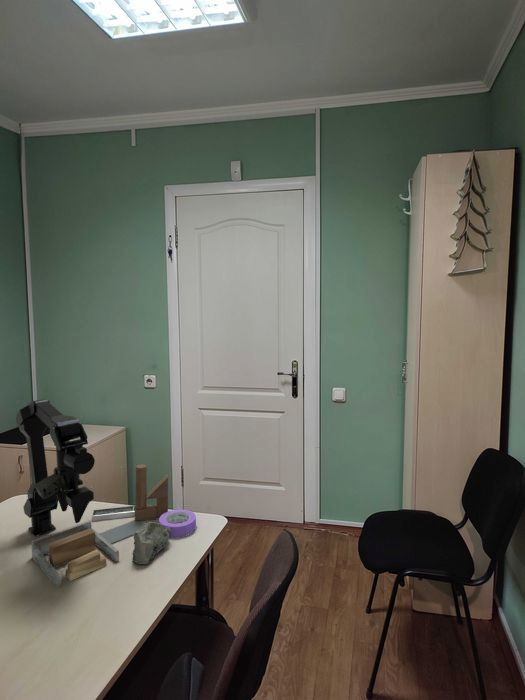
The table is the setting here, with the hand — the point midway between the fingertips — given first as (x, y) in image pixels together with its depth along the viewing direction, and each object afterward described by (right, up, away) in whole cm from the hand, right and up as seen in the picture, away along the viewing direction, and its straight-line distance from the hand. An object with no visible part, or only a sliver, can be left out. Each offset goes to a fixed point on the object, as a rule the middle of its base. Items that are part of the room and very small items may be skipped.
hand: (70, 516), depth 127 cm
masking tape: (+27, -11, +17) cm, 34 cm away
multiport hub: (+4, -10, +26) cm, 28 cm away
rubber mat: (+11, -11, +15) cm, 21 cm away
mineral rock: (+23, -12, +3) cm, 26 cm away
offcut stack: (+6, -13, -5) cm, 15 cm away
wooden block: (+17, -9, +24) cm, 31 cm away
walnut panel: (0, -12, +1) cm, 12 cm away
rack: (+1, -12, 0) cm, 12 cm away
